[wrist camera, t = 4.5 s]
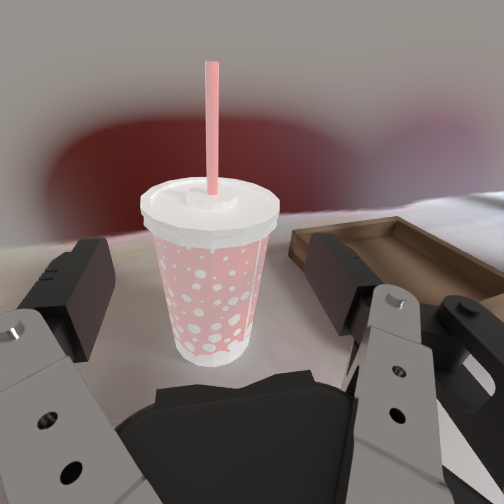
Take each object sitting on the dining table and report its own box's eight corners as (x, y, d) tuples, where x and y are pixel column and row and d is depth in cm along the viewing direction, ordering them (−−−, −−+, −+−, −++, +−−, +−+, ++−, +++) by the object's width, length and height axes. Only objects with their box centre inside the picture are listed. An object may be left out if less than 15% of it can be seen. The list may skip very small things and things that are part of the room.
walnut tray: (388, 237, 30) (397, 216, 29) (517, 319, 20) (540, 292, 19) (288, 255, 25) (292, 230, 24) (393, 370, 16) (410, 340, 14)
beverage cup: (213, 288, 21) (212, 65, 13) (280, 331, 18) (330, 72, 10) (140, 336, 16) (78, 48, 9) (212, 404, 13) (209, 53, 6)
